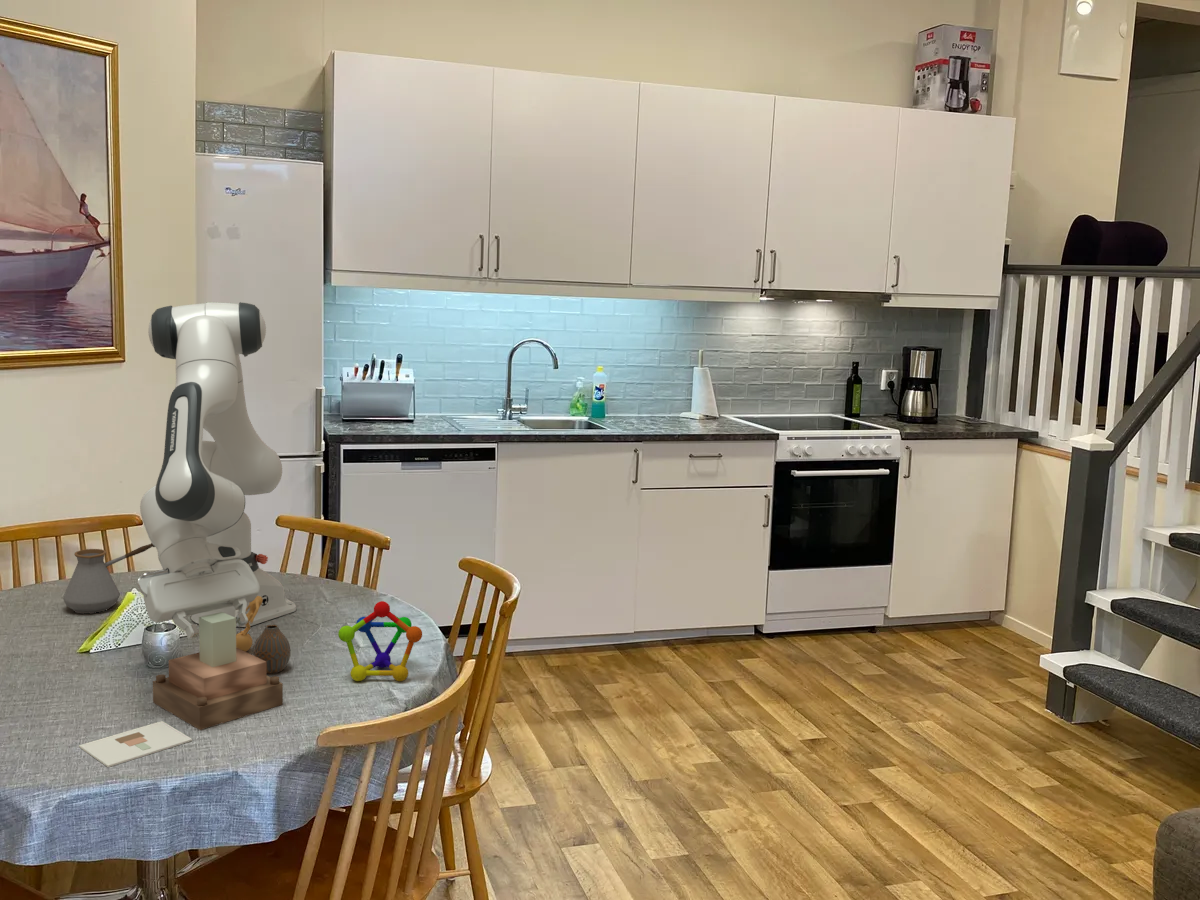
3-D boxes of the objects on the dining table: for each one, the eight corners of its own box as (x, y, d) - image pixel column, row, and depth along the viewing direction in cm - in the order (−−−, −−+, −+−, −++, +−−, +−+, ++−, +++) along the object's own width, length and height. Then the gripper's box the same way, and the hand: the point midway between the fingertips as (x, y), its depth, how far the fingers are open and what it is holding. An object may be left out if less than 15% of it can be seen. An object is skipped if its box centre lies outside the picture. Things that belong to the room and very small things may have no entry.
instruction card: (162, 722, 187) (162, 720, 187) (192, 740, 180) (192, 738, 180) (79, 747, 176) (78, 744, 176) (107, 767, 170) (107, 764, 170)
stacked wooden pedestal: (234, 679, 207) (234, 639, 206) (282, 704, 197) (282, 662, 195) (153, 702, 195) (152, 659, 194) (199, 730, 185) (199, 684, 183)
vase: (297, 666, 215) (297, 623, 214) (276, 678, 209) (276, 634, 207) (267, 661, 217) (267, 618, 216) (245, 672, 211) (245, 629, 209)
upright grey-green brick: (222, 654, 198) (222, 611, 196) (236, 661, 195) (235, 617, 193) (199, 660, 194) (198, 617, 193) (212, 667, 191) (212, 623, 190)
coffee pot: (62, 618, 237) (59, 551, 234) (64, 602, 247) (62, 538, 244) (168, 610, 245) (166, 545, 242) (166, 595, 255) (165, 533, 253)
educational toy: (409, 663, 222) (417, 592, 220) (417, 688, 210) (426, 612, 208) (330, 661, 217) (338, 588, 215) (335, 686, 205) (343, 609, 203)
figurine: (229, 645, 225) (229, 589, 223) (260, 643, 227) (259, 587, 225) (234, 659, 217) (233, 601, 215) (265, 656, 220) (265, 598, 218)
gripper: (139, 565, 188) (169, 634, 183) (246, 546, 203) (276, 609, 199) (127, 584, 192) (156, 652, 187) (233, 564, 207) (262, 626, 202)
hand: (219, 630), depth 193 cm, fingers open, 8 cm apart
